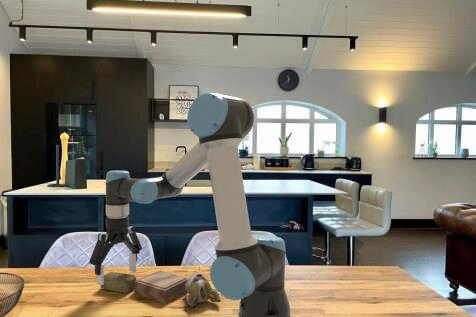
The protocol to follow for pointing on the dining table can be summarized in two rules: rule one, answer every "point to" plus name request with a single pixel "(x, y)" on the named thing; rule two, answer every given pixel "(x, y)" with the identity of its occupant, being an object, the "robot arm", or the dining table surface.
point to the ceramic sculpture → (199, 290)
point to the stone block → (118, 282)
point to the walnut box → (161, 286)
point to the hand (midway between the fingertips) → (117, 277)
